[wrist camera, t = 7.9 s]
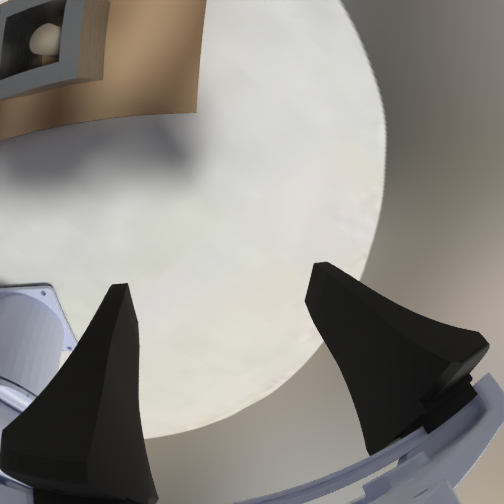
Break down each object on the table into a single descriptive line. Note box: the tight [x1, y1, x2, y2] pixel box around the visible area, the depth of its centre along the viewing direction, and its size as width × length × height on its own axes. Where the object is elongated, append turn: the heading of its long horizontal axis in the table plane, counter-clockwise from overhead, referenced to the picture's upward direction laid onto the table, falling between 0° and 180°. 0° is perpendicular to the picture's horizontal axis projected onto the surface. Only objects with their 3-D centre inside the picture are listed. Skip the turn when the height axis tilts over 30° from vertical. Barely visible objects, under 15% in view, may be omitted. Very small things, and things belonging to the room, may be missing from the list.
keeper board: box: [0, 0, 207, 141], centre depth 9 cm, size 16×10×4 cm, turn 84°
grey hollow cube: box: [0, 0, 111, 101], centre depth 8 cm, size 5×5×5 cm
